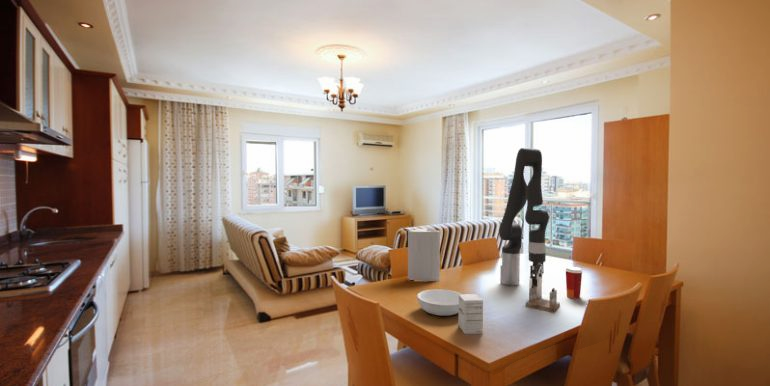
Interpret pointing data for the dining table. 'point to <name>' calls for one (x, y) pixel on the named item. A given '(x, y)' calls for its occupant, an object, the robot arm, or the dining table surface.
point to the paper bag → (424, 254)
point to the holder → (542, 303)
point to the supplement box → (470, 314)
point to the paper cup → (573, 282)
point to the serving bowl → (439, 301)
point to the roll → (539, 287)
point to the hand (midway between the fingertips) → (537, 285)
